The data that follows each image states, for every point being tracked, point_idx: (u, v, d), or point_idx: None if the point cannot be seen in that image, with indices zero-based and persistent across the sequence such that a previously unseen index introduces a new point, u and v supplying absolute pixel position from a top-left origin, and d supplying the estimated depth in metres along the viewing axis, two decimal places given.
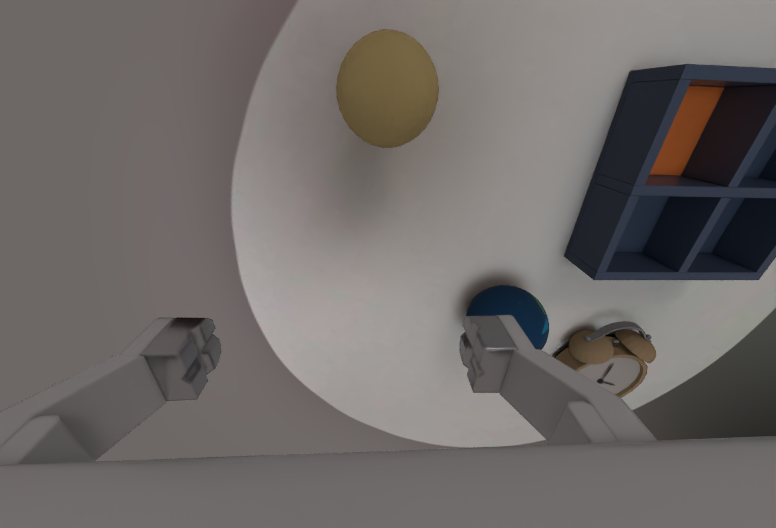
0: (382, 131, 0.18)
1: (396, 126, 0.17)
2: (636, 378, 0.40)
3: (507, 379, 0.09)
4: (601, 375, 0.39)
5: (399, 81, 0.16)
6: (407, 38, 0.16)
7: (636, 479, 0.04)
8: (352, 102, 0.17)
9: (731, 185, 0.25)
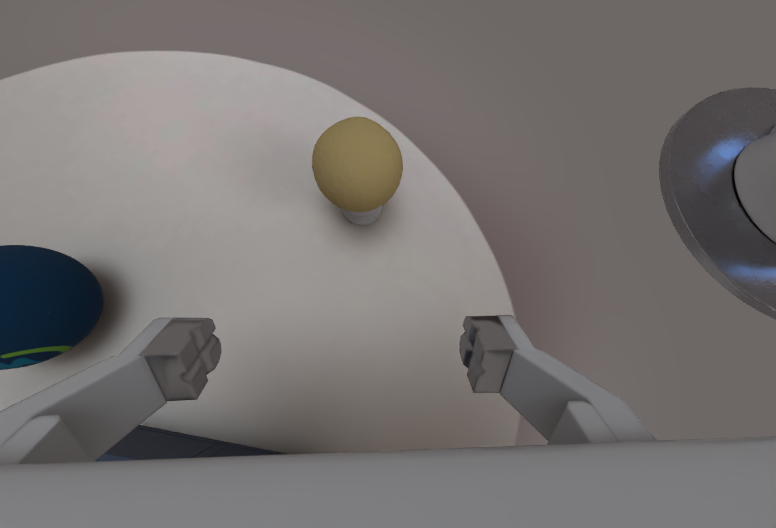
0: (326, 134, 0.19)
1: (327, 144, 0.19)
2: None
3: (507, 379, 0.09)
4: None
5: (361, 147, 0.18)
6: (393, 172, 0.20)
7: (636, 479, 0.04)
8: (354, 117, 0.20)
9: None
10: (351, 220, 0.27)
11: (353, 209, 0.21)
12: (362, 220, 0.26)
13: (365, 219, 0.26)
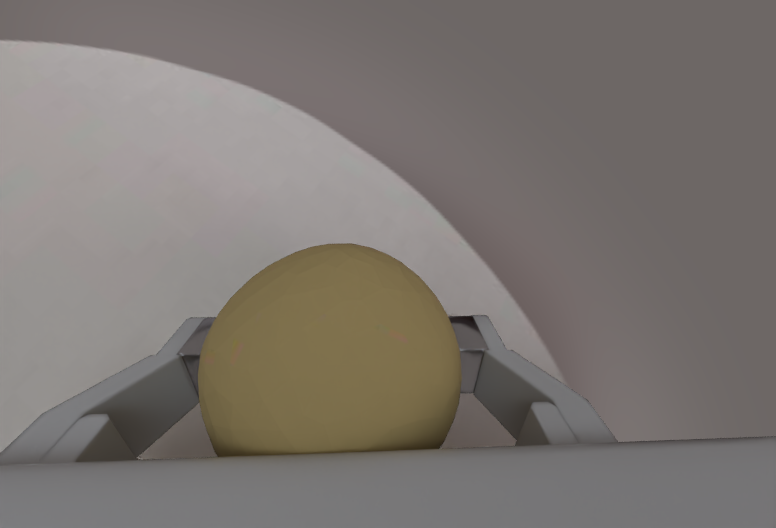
0: (229, 326, 0.06)
1: (225, 372, 0.05)
2: None
3: (479, 380, 0.08)
4: None
5: (340, 406, 0.05)
6: (441, 438, 0.06)
7: (636, 479, 0.04)
8: (326, 260, 0.06)
9: None
10: None
11: None
12: None
13: None
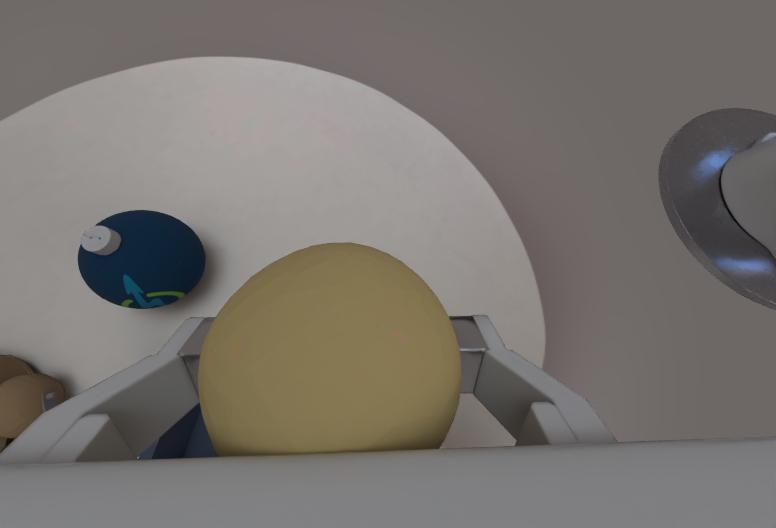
0: (229, 325, 0.06)
1: (225, 371, 0.05)
2: None
3: (479, 380, 0.08)
4: None
5: (340, 405, 0.05)
6: (441, 437, 0.06)
7: (636, 479, 0.04)
8: (326, 259, 0.06)
9: None
10: None
11: None
12: None
13: None
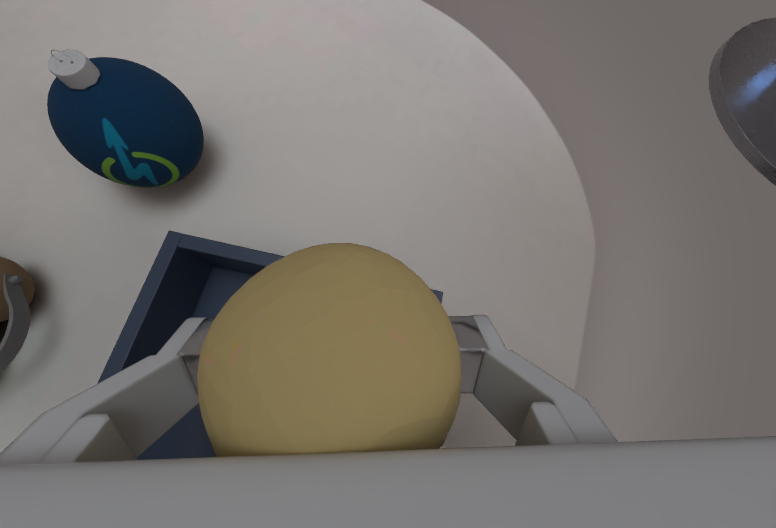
0: (229, 325, 0.06)
1: (224, 372, 0.05)
2: None
3: (479, 380, 0.08)
4: None
5: (339, 406, 0.05)
6: (441, 438, 0.06)
7: (636, 479, 0.04)
8: (326, 259, 0.06)
9: None
10: None
11: None
12: None
13: None
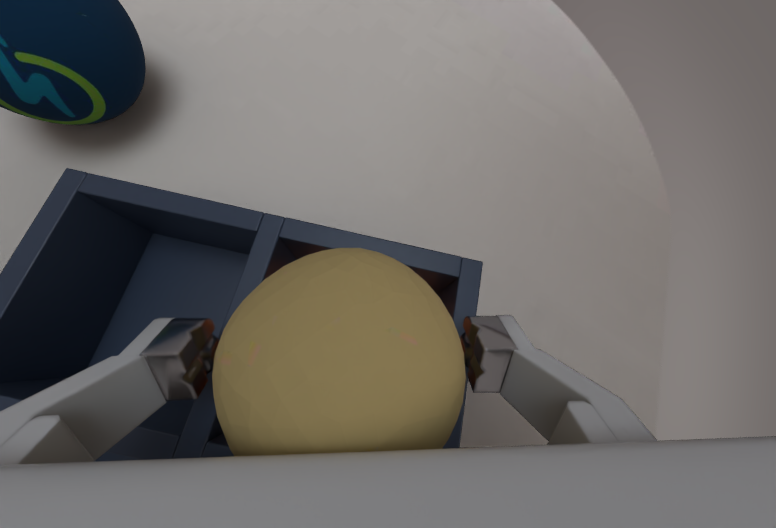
0: (245, 328, 0.06)
1: (243, 373, 0.06)
2: None
3: (507, 379, 0.09)
4: None
5: (355, 405, 0.05)
6: (447, 435, 0.07)
7: (636, 479, 0.04)
8: (338, 265, 0.07)
9: (207, 451, 0.10)
10: None
11: None
12: None
13: None
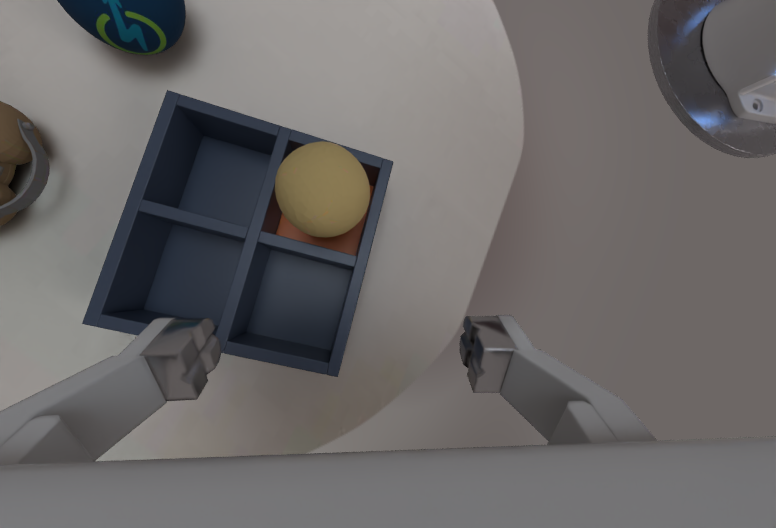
0: (290, 163, 0.18)
1: (291, 176, 0.18)
2: None
3: (507, 379, 0.09)
4: None
5: (327, 186, 0.18)
6: (358, 209, 0.19)
7: (636, 479, 0.04)
8: (322, 145, 0.19)
9: (261, 234, 0.22)
10: None
11: (316, 236, 0.21)
12: None
13: None
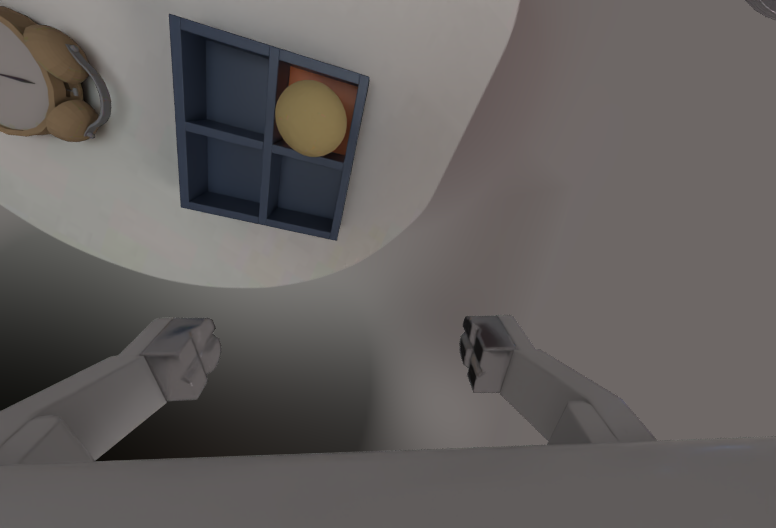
0: (283, 110, 0.25)
1: (285, 122, 0.25)
2: (13, 129, 0.31)
3: (507, 379, 0.09)
4: (5, 72, 0.28)
5: (311, 130, 0.25)
6: (337, 140, 0.27)
7: (636, 479, 0.04)
8: (304, 92, 0.24)
9: (273, 146, 0.31)
10: None
11: None
12: None
13: None
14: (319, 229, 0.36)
